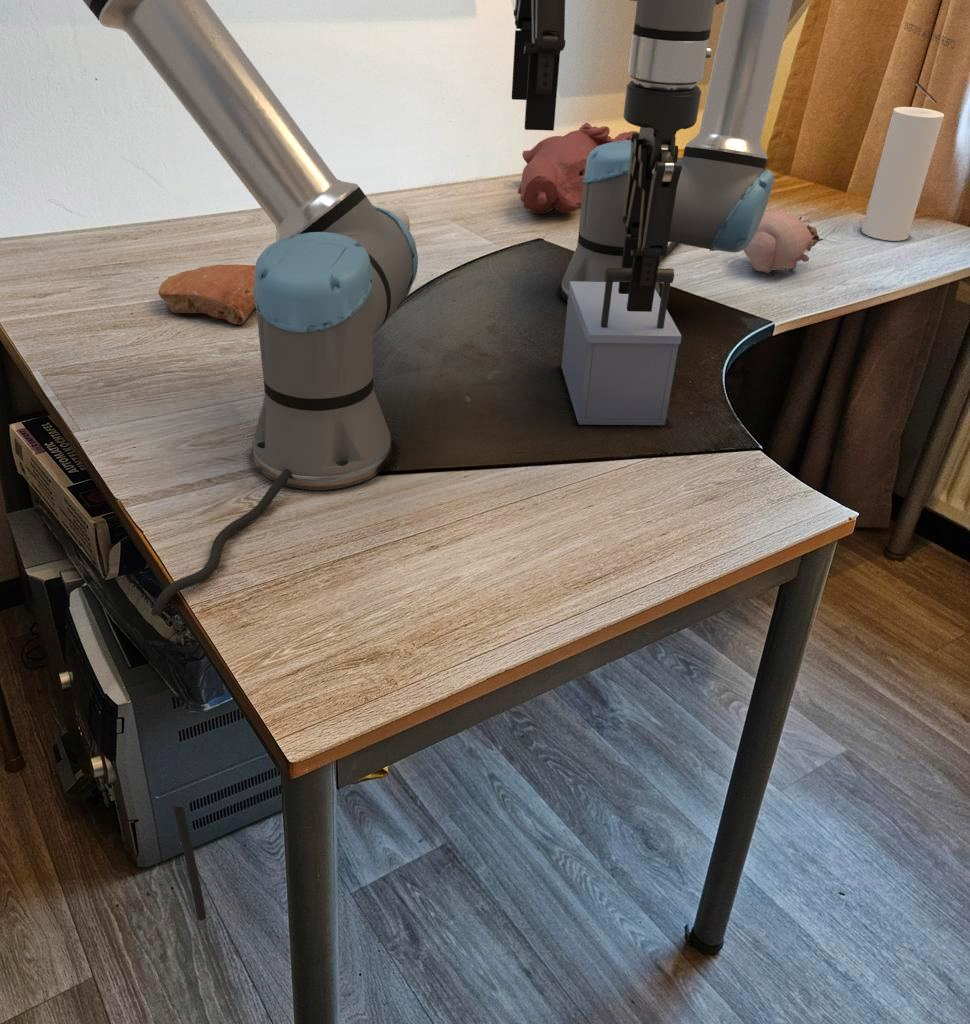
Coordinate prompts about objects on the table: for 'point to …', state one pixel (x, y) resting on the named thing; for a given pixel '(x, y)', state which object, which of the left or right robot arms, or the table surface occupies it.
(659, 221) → the right robot arm
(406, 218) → the electric motor
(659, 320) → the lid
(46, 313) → the table surface
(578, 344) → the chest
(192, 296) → the ceramic shard
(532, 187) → the fabric sculpture
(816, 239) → the toy
